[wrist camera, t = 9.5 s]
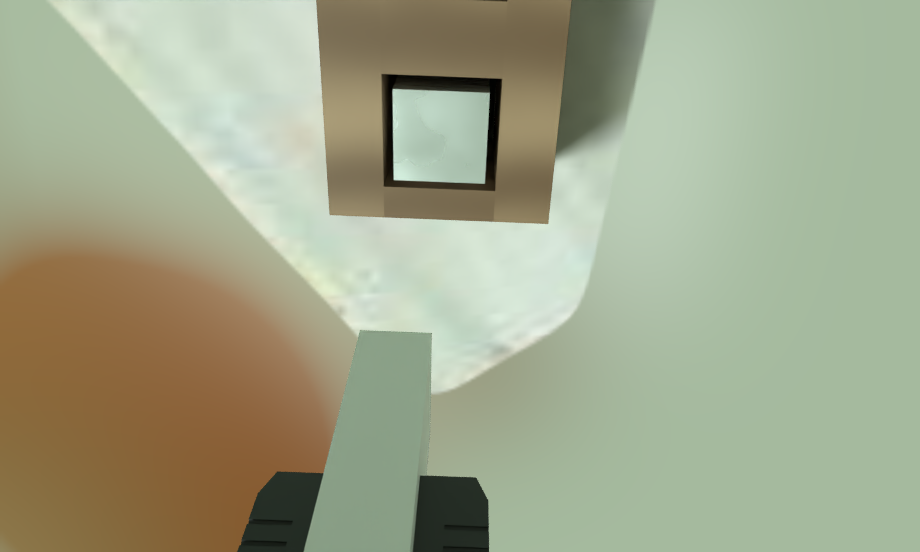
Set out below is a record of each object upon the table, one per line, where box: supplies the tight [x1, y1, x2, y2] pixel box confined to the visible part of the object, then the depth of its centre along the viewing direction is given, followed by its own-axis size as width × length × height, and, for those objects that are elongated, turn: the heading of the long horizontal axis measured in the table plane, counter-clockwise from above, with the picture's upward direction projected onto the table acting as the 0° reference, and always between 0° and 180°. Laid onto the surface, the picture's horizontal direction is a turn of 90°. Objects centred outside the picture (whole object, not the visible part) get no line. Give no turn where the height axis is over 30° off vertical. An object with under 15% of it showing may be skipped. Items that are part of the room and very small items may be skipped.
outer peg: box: [393, 75, 490, 184], centre depth 33 cm, size 4×4×6 cm
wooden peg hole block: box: [316, 0, 572, 224], centre depth 32 cm, size 16×10×7 cm, turn 178°
